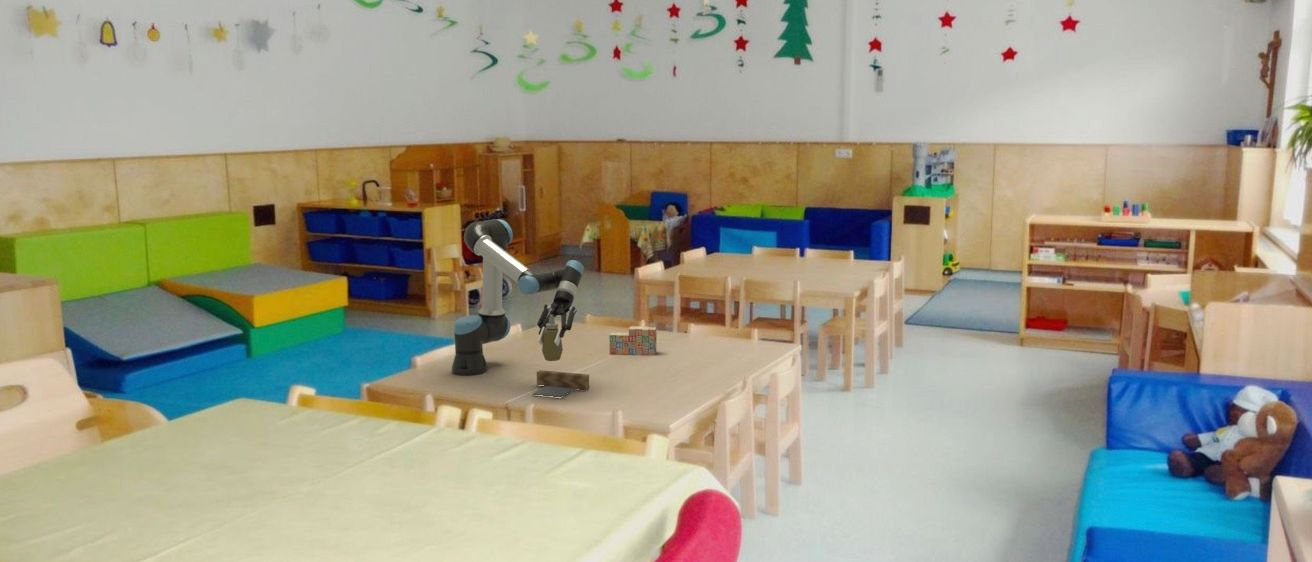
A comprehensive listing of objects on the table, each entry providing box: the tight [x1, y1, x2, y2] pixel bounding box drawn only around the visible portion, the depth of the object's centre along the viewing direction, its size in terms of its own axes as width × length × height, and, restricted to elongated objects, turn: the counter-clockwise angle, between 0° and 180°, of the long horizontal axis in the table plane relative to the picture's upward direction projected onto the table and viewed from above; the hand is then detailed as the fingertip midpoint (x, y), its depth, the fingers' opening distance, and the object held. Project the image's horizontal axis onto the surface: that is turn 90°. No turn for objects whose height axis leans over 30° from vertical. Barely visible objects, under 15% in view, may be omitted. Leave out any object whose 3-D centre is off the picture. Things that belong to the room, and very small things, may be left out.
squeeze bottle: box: [541, 315, 564, 362], centre depth 383 cm, size 8×8×18 cm
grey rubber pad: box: [532, 386, 574, 398], centre depth 386 cm, size 12×12×1 cm
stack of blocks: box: [608, 325, 657, 356], centre depth 452 cm, size 21×6×12 cm, turn 84°
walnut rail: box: [536, 369, 590, 391], centre depth 394 cm, size 22×3×6 cm, turn 70°
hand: (548, 343), depth 380 cm, fingers closed on squeeze bottle, 6 cm apart
